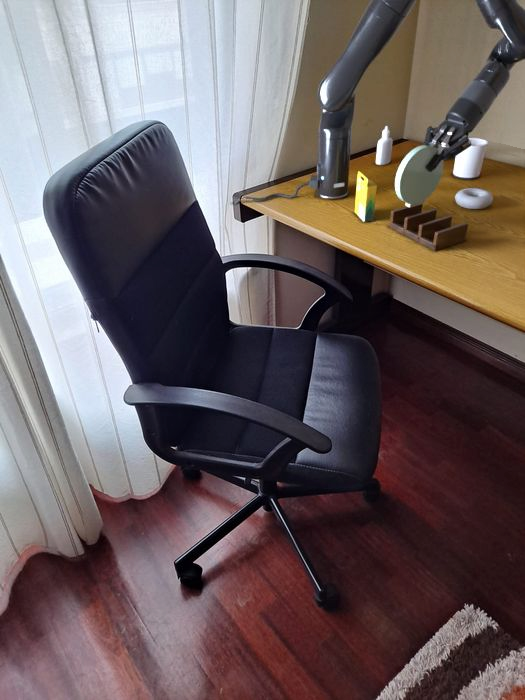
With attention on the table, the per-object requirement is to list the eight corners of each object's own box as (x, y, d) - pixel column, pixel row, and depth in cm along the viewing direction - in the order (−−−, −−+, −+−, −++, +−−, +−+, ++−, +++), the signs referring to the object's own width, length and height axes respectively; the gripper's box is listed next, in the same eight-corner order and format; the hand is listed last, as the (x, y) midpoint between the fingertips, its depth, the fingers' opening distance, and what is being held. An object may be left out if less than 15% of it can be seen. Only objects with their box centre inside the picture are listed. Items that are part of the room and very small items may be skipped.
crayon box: (374, 221, 135) (378, 178, 128) (363, 222, 135) (367, 179, 127) (364, 210, 141) (367, 169, 134) (354, 212, 140) (357, 170, 133)
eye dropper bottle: (373, 161, 173) (376, 125, 166) (388, 160, 174) (392, 123, 166) (377, 165, 170) (380, 128, 163) (393, 164, 171) (397, 127, 163)
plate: (391, 209, 126) (398, 150, 117) (432, 197, 131) (442, 140, 122) (396, 212, 124) (403, 152, 115) (437, 199, 129) (448, 141, 120)
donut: (496, 202, 141) (462, 194, 146) (499, 190, 139) (464, 183, 144) (483, 214, 135) (448, 206, 140) (486, 202, 133) (450, 194, 138)
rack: (389, 227, 132) (391, 210, 129) (417, 218, 135) (420, 202, 132) (434, 250, 120) (437, 233, 117) (464, 240, 123) (468, 223, 121)
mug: (483, 180, 155) (490, 146, 148) (453, 180, 156) (459, 146, 150) (476, 168, 163) (483, 135, 157) (448, 168, 165) (454, 136, 158)
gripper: (443, 91, 122) (398, 152, 125) (488, 101, 112) (438, 167, 115) (455, 111, 127) (411, 169, 130) (499, 122, 117) (451, 185, 120)
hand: (424, 168), depth 123 cm, fingers closed on plate, 2 cm apart
